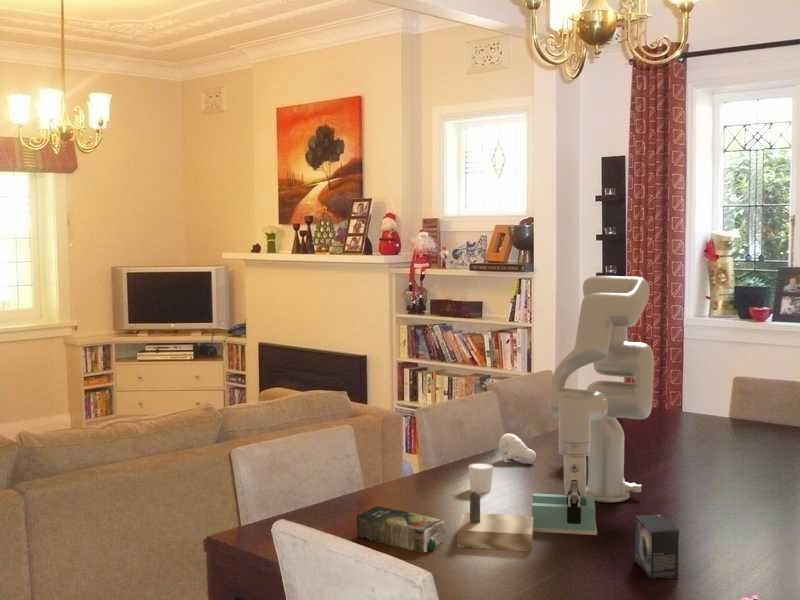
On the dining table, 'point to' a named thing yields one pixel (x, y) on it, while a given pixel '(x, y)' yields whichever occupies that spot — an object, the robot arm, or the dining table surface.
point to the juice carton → (401, 529)
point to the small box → (656, 546)
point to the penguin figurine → (515, 449)
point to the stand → (494, 529)
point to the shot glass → (480, 477)
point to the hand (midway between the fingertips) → (573, 516)
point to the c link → (561, 512)
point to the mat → (567, 531)
